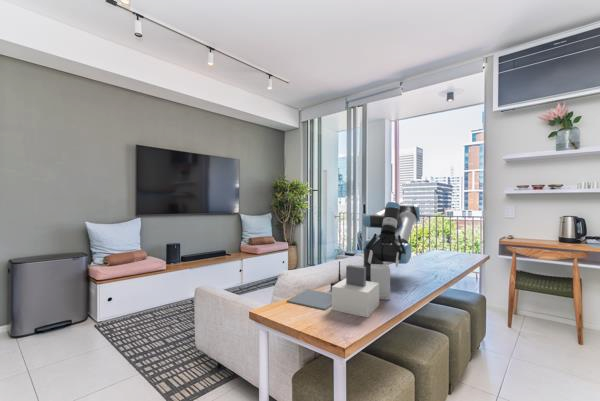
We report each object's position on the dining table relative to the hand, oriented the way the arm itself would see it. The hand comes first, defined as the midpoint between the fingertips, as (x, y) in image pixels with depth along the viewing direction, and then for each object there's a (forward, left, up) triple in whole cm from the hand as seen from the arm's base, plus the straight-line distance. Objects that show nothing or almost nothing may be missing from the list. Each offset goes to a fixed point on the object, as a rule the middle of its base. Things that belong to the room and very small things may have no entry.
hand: (382, 264), depth 146 cm
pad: (+23, -25, -15) cm, 38 cm away
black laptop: (+1, -19, -16) cm, 25 cm away
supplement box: (+3, 0, -16) cm, 16 cm away
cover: (+23, -5, -15) cm, 28 cm away
